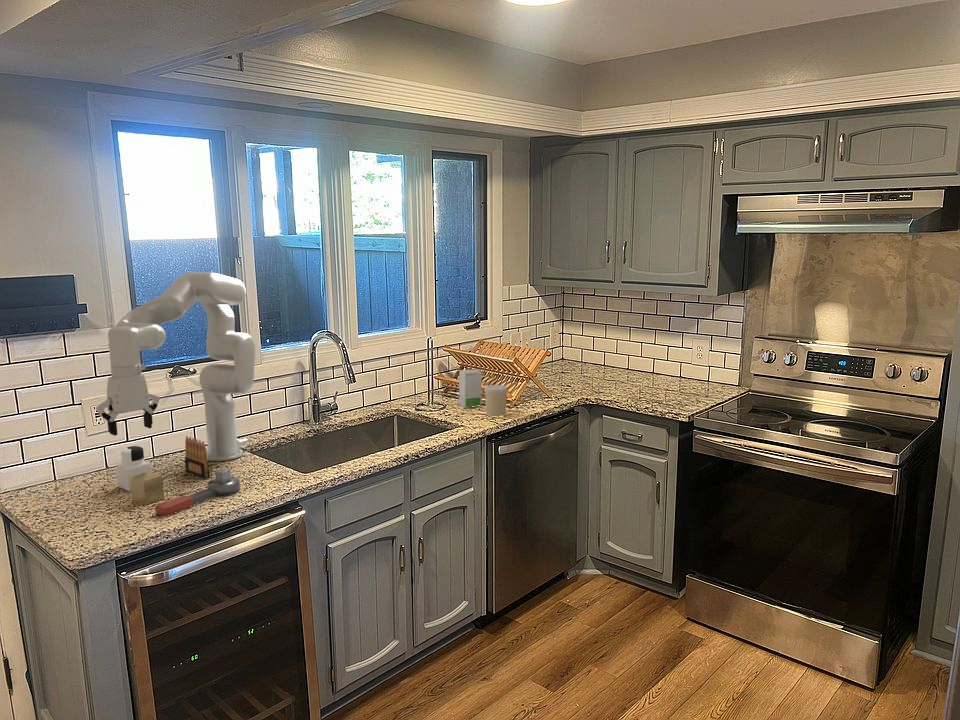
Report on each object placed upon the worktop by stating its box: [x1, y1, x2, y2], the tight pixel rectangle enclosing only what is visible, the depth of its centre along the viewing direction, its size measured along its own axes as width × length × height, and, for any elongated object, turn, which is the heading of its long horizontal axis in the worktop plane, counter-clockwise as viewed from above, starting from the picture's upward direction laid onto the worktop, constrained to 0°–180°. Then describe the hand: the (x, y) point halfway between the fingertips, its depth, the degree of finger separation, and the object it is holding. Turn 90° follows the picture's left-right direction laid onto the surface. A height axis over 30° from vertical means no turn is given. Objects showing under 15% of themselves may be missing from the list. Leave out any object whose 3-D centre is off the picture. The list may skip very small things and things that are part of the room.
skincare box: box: [458, 369, 483, 409], centre depth 312 cm, size 8×7×16 cm
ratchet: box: [154, 468, 241, 518], centre depth 208 cm, size 26×9×6 cm, turn 150°
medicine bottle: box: [116, 445, 152, 493], centre depth 218 cm, size 7×7×12 cm
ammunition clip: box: [184, 435, 211, 480], centre depth 227 cm, size 11×2×12 cm, turn 53°
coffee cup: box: [484, 384, 508, 416], centre depth 297 cm, size 9×9×12 cm
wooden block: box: [130, 471, 165, 506], centre depth 208 cm, size 6×6×7 cm
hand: (131, 430), depth 204 cm, fingers open, 9 cm apart
